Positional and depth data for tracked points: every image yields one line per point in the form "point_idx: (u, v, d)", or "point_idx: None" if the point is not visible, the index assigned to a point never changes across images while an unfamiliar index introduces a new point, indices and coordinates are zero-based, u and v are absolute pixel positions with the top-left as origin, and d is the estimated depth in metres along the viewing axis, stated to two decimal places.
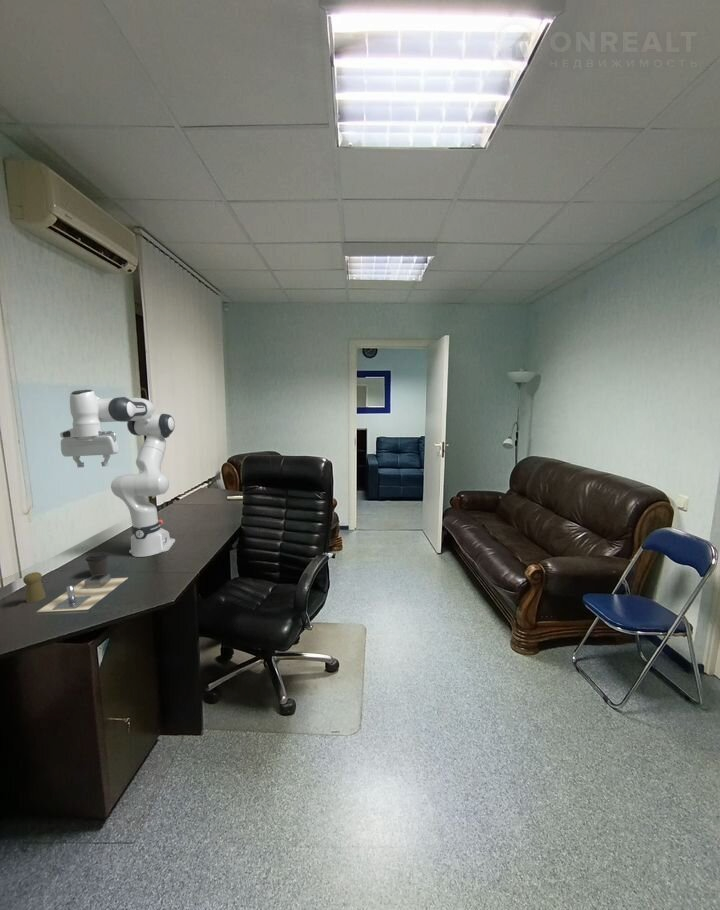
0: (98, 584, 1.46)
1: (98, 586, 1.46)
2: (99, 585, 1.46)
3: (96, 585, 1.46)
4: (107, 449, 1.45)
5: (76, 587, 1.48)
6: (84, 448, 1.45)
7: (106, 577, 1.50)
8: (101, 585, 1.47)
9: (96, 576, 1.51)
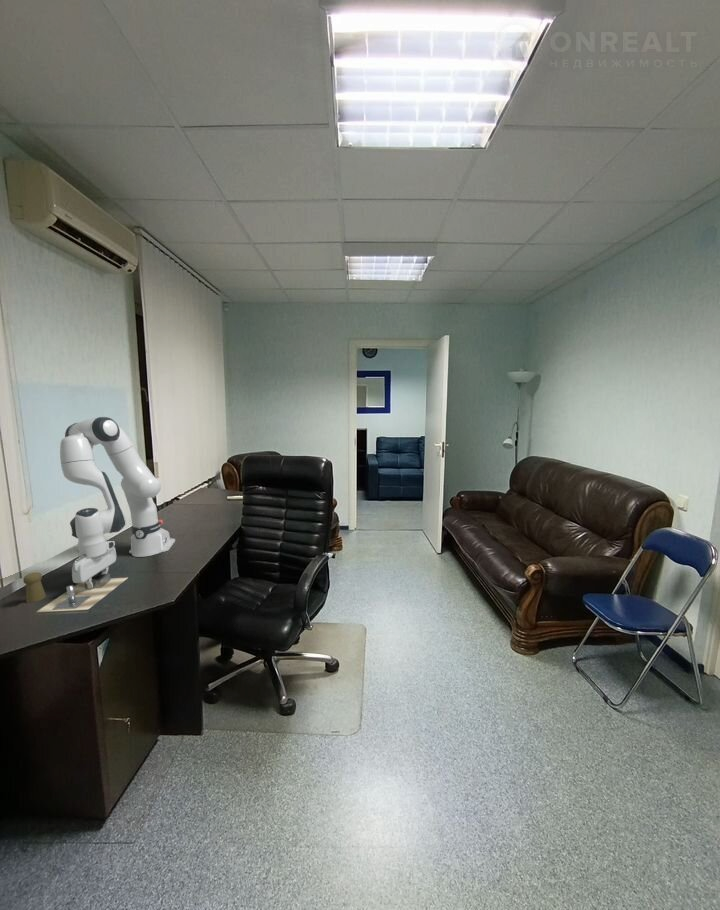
0: (98, 584, 1.46)
1: (98, 586, 1.46)
2: (99, 585, 1.46)
3: (96, 585, 1.46)
4: None
5: (76, 587, 1.48)
6: None
7: (106, 577, 1.50)
8: (101, 585, 1.47)
9: (96, 576, 1.51)
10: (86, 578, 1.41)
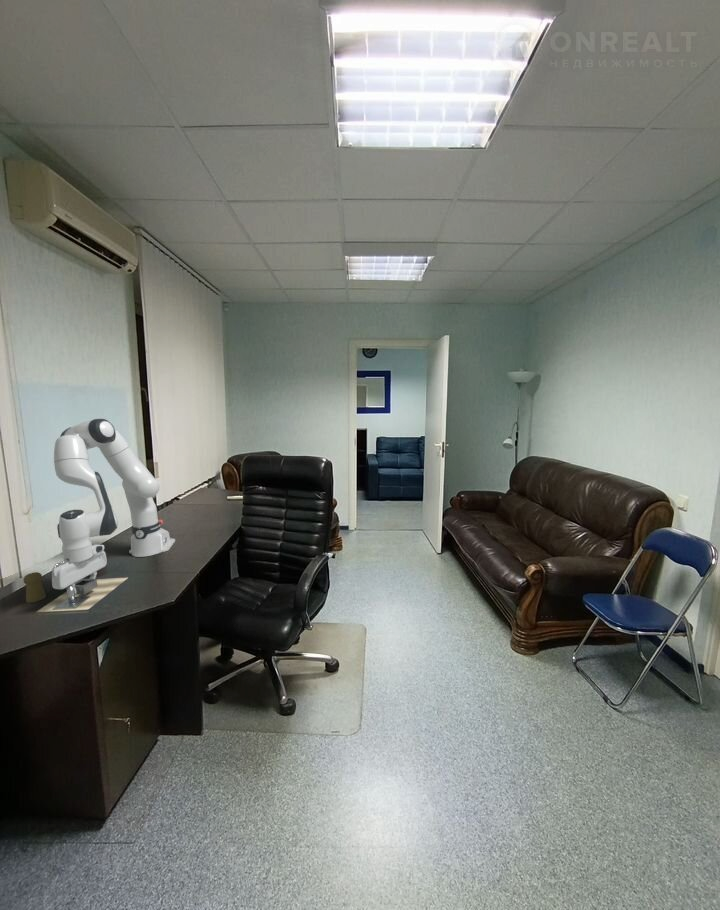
0: (82, 590, 1.38)
1: (82, 592, 1.38)
2: (83, 592, 1.38)
3: (80, 591, 1.38)
4: None
5: None
6: None
7: (92, 583, 1.42)
8: (85, 592, 1.39)
9: (83, 581, 1.43)
10: (67, 584, 1.33)
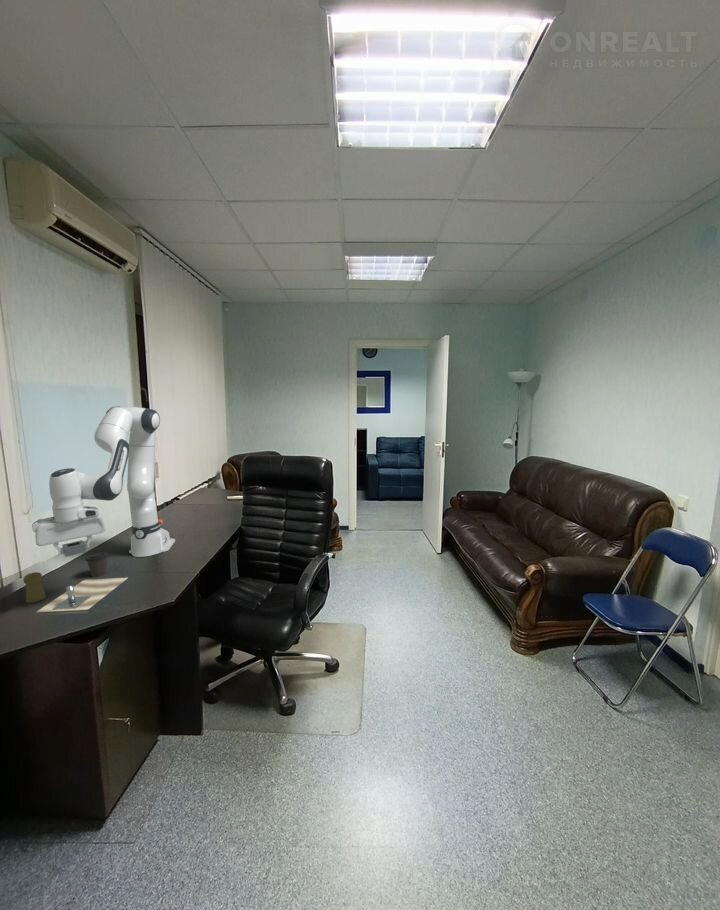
0: (64, 552, 1.33)
1: (65, 554, 1.34)
2: (65, 553, 1.33)
3: (64, 552, 1.34)
4: None
5: (76, 587, 1.48)
6: None
7: (78, 547, 1.36)
8: (67, 554, 1.33)
9: (78, 543, 1.39)
10: (45, 542, 1.30)
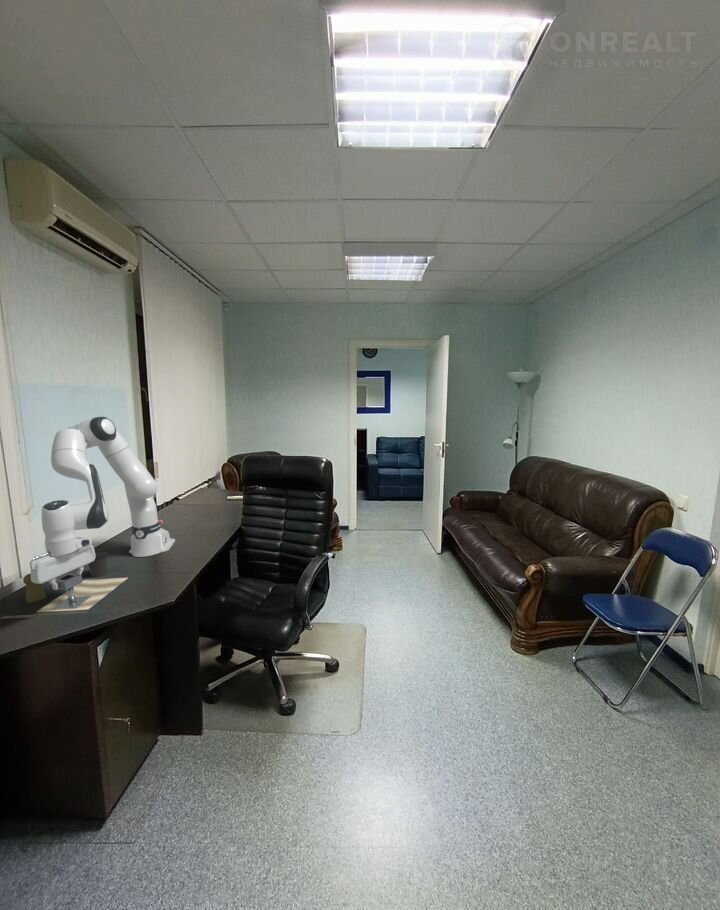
0: (63, 586, 1.31)
1: (63, 588, 1.31)
2: (64, 587, 1.31)
3: (62, 587, 1.31)
4: None
5: (76, 587, 1.48)
6: None
7: (76, 578, 1.34)
8: (67, 587, 1.31)
9: (68, 575, 1.36)
10: (46, 579, 1.26)
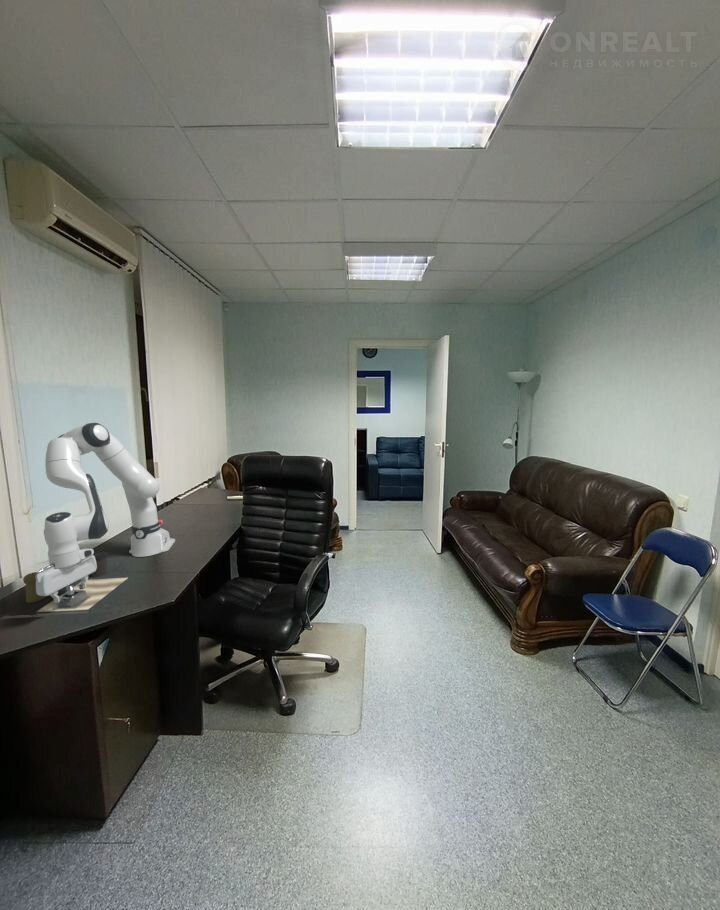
0: (69, 603, 1.32)
1: (69, 605, 1.32)
2: (70, 604, 1.32)
3: (67, 604, 1.32)
4: None
5: (76, 587, 1.48)
6: None
7: (80, 595, 1.35)
8: (72, 604, 1.32)
9: None
10: (51, 591, 1.27)
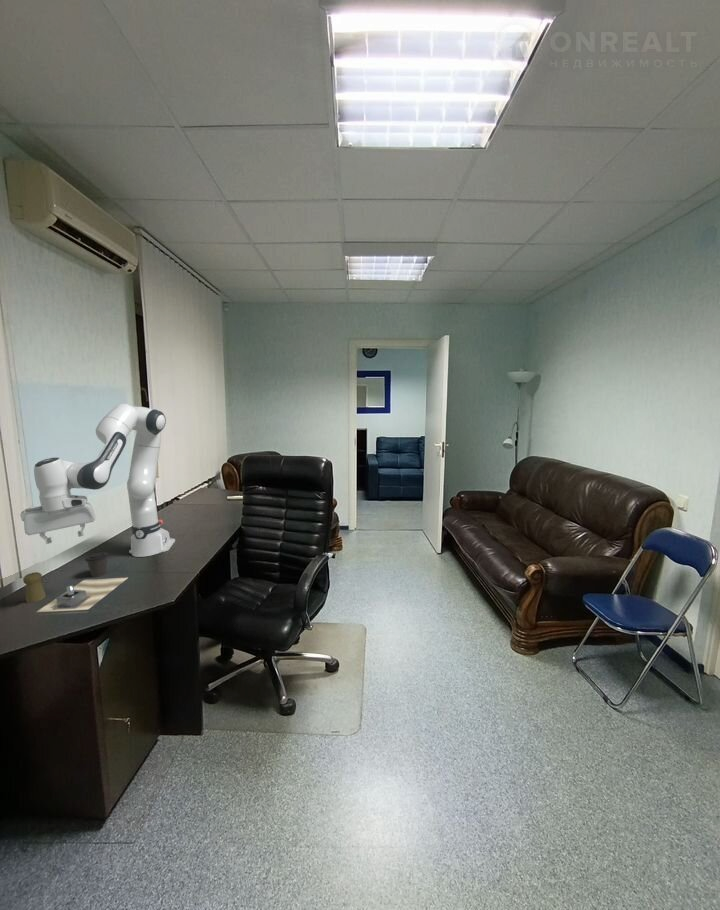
0: (69, 603, 1.32)
1: (69, 605, 1.32)
2: (70, 604, 1.32)
3: (67, 604, 1.32)
4: None
5: (76, 587, 1.48)
6: None
7: (80, 595, 1.35)
8: (72, 604, 1.32)
9: None
10: (33, 532, 1.31)
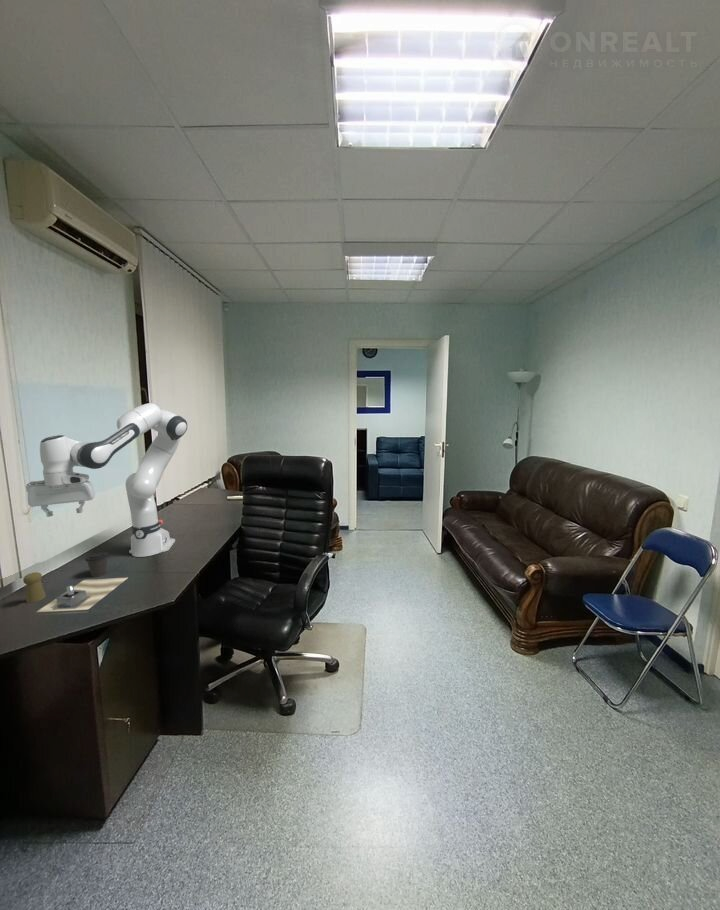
0: (69, 603, 1.32)
1: (69, 605, 1.32)
2: (70, 604, 1.32)
3: (67, 604, 1.32)
4: None
5: (76, 587, 1.48)
6: None
7: (80, 595, 1.35)
8: (72, 604, 1.32)
9: None
10: (35, 504, 1.38)
